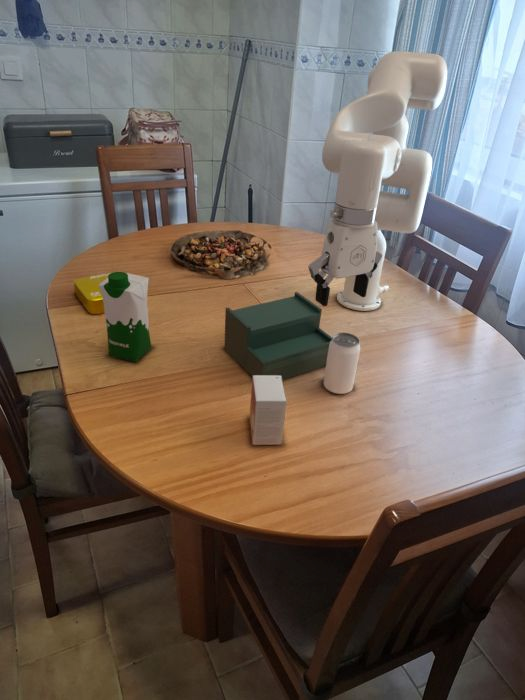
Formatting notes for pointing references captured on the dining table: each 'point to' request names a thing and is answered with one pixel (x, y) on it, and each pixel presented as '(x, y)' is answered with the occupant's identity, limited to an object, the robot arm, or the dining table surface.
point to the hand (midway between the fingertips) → (340, 298)
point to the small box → (267, 409)
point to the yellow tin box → (91, 292)
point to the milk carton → (126, 315)
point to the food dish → (220, 253)
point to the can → (341, 363)
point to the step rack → (277, 337)
